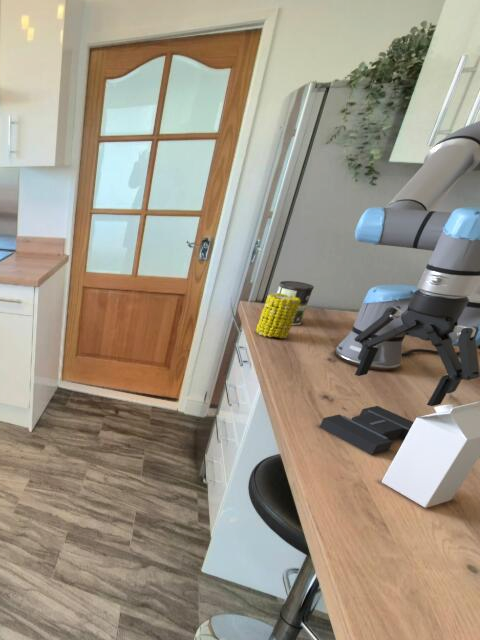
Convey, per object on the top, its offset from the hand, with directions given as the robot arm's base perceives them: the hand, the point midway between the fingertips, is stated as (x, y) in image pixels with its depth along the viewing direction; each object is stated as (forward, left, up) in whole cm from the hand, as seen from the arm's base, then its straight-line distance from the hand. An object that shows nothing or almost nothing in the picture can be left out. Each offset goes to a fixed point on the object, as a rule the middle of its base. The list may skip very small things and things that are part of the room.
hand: (394, 388), depth 92 cm
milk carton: (+13, +16, -12) cm, 24 cm away
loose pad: (0, 0, -12) cm, 12 cm away
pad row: (0, 0, -12) cm, 12 cm away
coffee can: (-49, -61, -12) cm, 79 cm away
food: (-31, -52, -12) cm, 62 cm away
